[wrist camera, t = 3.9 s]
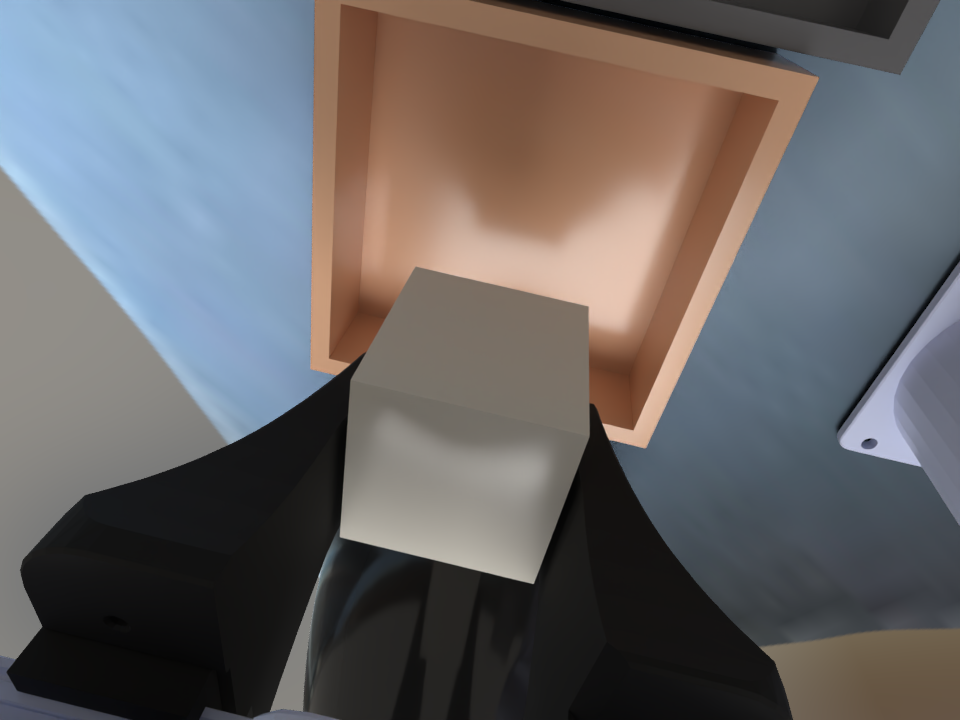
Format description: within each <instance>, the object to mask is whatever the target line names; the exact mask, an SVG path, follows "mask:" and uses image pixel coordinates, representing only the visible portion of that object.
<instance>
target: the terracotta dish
mask: <svg viewBox="0 0 960 720" xmlns="http://www.w3.org/2000/svg"><path fill="white" fill-rule="evenodd" d="M818 79H819V77H818V76H816V75H814V74H812V73H811V72H809V71H807V70H805V69H803V68H802V67H800V66H798V65H796V64H795V63H793V62H791V61H789V60H787V59H786V58H784V57H782V56H780V55H779V54H777V53H772V52H767V51H763V50H758V49H754V48H749V47H745V46H740V45H736V44H731V43H726V42H722V41H717V40H713V39H708V38H704V37H699V36H695V35H690V34H685V33H681V32H676V31H672V30H667V29H663V28H658V27H653V26H649V25H644V24H640V23H635V22H631V21H626V20H622V19H617V18H612V17H608V16H603V15H599V14H594V13H590V12H585V11H581V10H576V9H571V8H567V7H562V6H558V5H553V4H549V3H544V2H540V1H535V0H315V29H314V116H313V203H312V290H311V369H312V370H316V371H321V372H325V373H329V374H333V375H338V374H339V373H340V372H342V371H343V370H344V369H345V368H347V367H348V366H349V365H350V364H351V363H352V362H354V361H355V360H356V359H357V358H358V357H359V356H361V355H362V354H363V353H365V352H367V350H368V349H369V347H370V345H371V343H372V342H373V340H374V338H375V336H376V335H377V333H378V331H379V329H380V328H381V326H382V324H383V322H384V321H385V319H386V317H387V315H388V314H389V312H390V310H391V308H392V307H393V305H394V303H395V301H396V300H397V298H398V296H399V294H400V293H401V291H402V289H403V287H404V285H405V284H406V282H407V280H408V278H409V277H410V275H411V273H412V271H413V270H414V268H415V266H416V267H420V268H424V269H429V270H433V271H437V272H442V273H446V274H450V275H455V276H459V277H463V278H468V279H472V280H476V281H481V282H485V283H489V284H494V285H498V286H502V287H507V288H511V289H515V290H520V291H524V292H528V293H533V294H537V295H541V296H546V297H550V298H554V299H559V300H563V301H567V302H572V303H576V304H580V305H585V306H589V403H592V404H594V405H595V406H596V408H597V410H598V413H599V416H600V418H601V421H602V424H603V426H604V429H605V431H606V434H607V436H608V439H609V440H612V441H616V442H621V443H625V444H629V445H633V446H638V447H642V448H646V447H647V445H648V442H649V440H650V438H651V436H652V434H653V432H654V430H655V428H656V425H657V423H658V421H659V419H660V417H661V415H662V413H663V410H664V408H665V406H666V404H667V402H668V400H669V398H670V395H671V393H672V391H673V389H674V387H675V385H676V383H677V381H678V378H679V376H680V374H681V372H682V370H683V368H684V366H685V363H686V361H687V359H688V357H689V355H690V353H691V351H692V348H693V346H694V344H695V342H696V340H697V338H698V336H699V334H700V331H701V329H702V327H703V325H704V323H705V321H706V319H707V316H708V314H709V312H710V310H711V308H712V306H713V304H714V301H715V299H716V297H717V295H718V293H719V291H720V289H721V287H722V284H723V282H724V280H725V278H726V276H727V274H728V272H729V269H730V267H731V265H732V263H733V261H734V259H735V257H736V255H737V252H738V250H739V248H740V246H741V244H742V242H743V240H744V237H745V235H746V233H747V231H748V229H749V227H750V225H751V222H752V220H753V218H754V216H755V214H756V212H757V210H758V208H759V205H760V203H761V201H762V199H763V197H764V195H765V193H766V190H767V188H768V186H769V184H770V182H771V180H772V178H773V175H774V173H775V171H776V169H777V167H778V165H779V163H780V161H781V158H782V156H783V154H784V152H785V150H786V148H787V146H788V143H789V141H790V139H791V137H792V135H793V133H794V131H795V128H796V126H797V124H798V122H799V120H800V118H801V116H802V114H803V111H804V109H805V107H806V105H807V103H808V101H809V99H810V96H811V94H812V92H813V90H814V88H815V86H816V84H817V81H818Z"/></svg>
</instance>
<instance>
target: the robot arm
mask: <svg viewBox="0 0 960 720" xmlns="http://www.w3.org/2000/svg"><path fill="white" fill-rule="evenodd" d="M365 354H366V352H365V353H363V354H362V355H361V356H359V357H358V358H357V359H356V360H355V361H354V362H352V363H351V364H350V365H349V366H348V367H347V368H345V369H344V370H343V371H342V372H340V373H339V374H338V375H337V376H336V377H334V378H333V379H332V380H331V381H329V382H328V383H327V384H325V385H324V386H323V387H321V388H320V389H319V390H317V391H316V392H315V393H313V394H312V395H311V396H309V397H308V398H307V399H305V400H304V401H302V402H301V403H299V404H298V405H296V406H295V407H293V408H292V409H290V410H289V411H287V412H286V413H284V414H283V415H281V416H280V417H278V418H277V419H275V420H273V421H272V422H270V423H269V424H267V425H265V426H263V427H262V428H260V429H258V430H257V431H255V432H253V433H251V434H249V435H247V436H246V437H244V438H242V439H240V440H238V441H236V442H234V443H232V444H230V445H228V446H225V447H223V448H221V449H219V450H217V451H214V452H212V453H210V454H208V455H206V456H203V457H201V458H199V459H196V460H194V461H191V462H189V463H186V464H184V465H181V466H178V467H176V468H173V469H170V470H167V471H165V472H162V473H159V474H156V475H153V476H151V477H147V478H144V479H141V480H138V481H134V482H131V483H127V484H124V485H120V486H117V487H114V488H110V489H107V490H103V491H99V492H96V493H92V494H88V495H85V496H84V497H83V498H82V499H81V500H80V501H79V502H77V504H75V505H74V506H73V507H72V508H71V509H70V510H69V511H68V512H67V513H66V514H65V515H64V516H63V517H62V518H61V519H60V520H59V521H58V522H57V523H56V524H55V525H54V526H53V528H52V529H51V530H50V531H49V532H48V533H47V534H46V535H45V536H44V537H43V538H42V540H41V541H40V542H39V543H38V544H37V545H36V546H35V547H34V548H33V549H32V550H31V552H30V553H29V554H28V555H27V556H26V557H25V558H24V559H23V561H22V565H21V569H20V571H21V577H22V580H23V584H24V588H25V590H26V592H27V594H28V596H29V598H30V601H31V603H32V605H33V607H34V609H35V611H36V614H37V616H38V618H39V620H40V622H41V624H42V628H41V629H40V631H39V632H38V633H37V634H36V636H35V637H34V638H33V639H32V641H31V642H30V643H29V644H28V646H27V647H26V648H25V649H24V650H23V652H22V653H21V654H20V655H19V657H18V658H17V659H12V658H8V657H4V656H0V720H339V719H335V718H331V717H327V716H322V715H318V714H314V713H310V712H301V711H294V710H286V709H281V710H276V711H272V712H270V710H271V706H272V703H273V701H274V698H275V695H276V692H277V689H278V686H279V682H280V680H281V677H282V674H283V671H284V669H285V666H286V663H287V660H288V657H289V654H290V652H291V649H292V646H293V643H294V640H295V637H296V635H297V632H298V629H299V626H300V624H301V621H302V618H303V616H304V613H305V610H306V607H307V605H308V602H309V599H310V596H311V594H312V591H313V588H314V586H315V583H316V581H317V578H318V575H319V573H320V570H321V568H322V565H323V562H324V560H325V557H326V555H327V552H328V550H329V548H330V546H331V544H332V541H333V539H334V537H335V535H336V533H337V531H338V529H339V527H340V525H341V512H342V497H343V483H344V468H345V454H346V439H347V425H348V411H349V396H350V382H351V378H352V377H353V375H354V373H355V371H356V370H357V368H358V366H359V364H360V363H361V361H362V359H363V357H364V356H365ZM589 426H590V437H589V439H588V442H587V445H586V447H585V450H584V452H583V455H582V458H581V460H580V463H579V466H578V468H577V471H576V474H575V476H574V479H573V482H572V484H571V487H570V490H569V492H568V495H567V497H566V500H565V503H564V505H563V508H562V511H561V513H560V516H559V519H558V521H557V524H556V527H555V529H554V532H553V534H552V537H551V540H550V542H549V545H548V548H547V550H546V553H545V556H544V558H543V561H542V564H541V566H540V569H539V596H538V610H537V618H536V627H535V635H534V644H533V652H532V660H531V668H530V675H529V683H528V691H527V698H526V705H525V712H524V720H793V718H792V715H791V711H790V707H789V702H788V699H787V696H786V693H785V689H784V686H783V684H782V681H781V678H780V676H779V673H778V670H777V668H776V664H775V662H774V661H773V660H772V659H771V658H770V657H769V656H768V655H766V653H765V652H764V651H762V650H761V649H760V648H759V647H758V646H757V645H756V644H755V643H754V642H753V641H752V640H751V639H750V638H749V637H748V636H747V635H746V634H744V633H743V632H742V631H741V630H740V629H739V628H738V627H737V626H736V625H735V624H734V623H733V622H732V621H731V620H730V619H729V618H728V617H727V616H726V615H725V614H724V613H723V611H722V610H721V609H720V608H719V607H718V606H717V605H716V604H715V603H714V602H713V601H712V600H711V599H710V598H709V597H708V595H707V594H706V593H705V592H704V591H703V590H702V589H701V587H700V586H699V585H698V584H697V583H696V582H695V580H694V579H693V578H692V577H691V575H690V574H689V573H688V572H687V570H686V569H685V568H684V567H683V565H682V564H681V563H680V562H679V561H678V559H677V558H676V557H675V555H674V554H673V553H672V551H671V550H670V549H669V547H668V546H667V545H666V543H665V542H664V540H663V539H662V537H661V536H660V534H659V533H658V531H657V530H656V528H655V527H654V525H653V524H652V522H651V521H650V519H649V517H648V516H647V514H646V512H645V511H644V509H643V507H642V506H641V504H640V502H639V500H638V499H637V497H636V495H635V493H634V491H633V490H632V488H631V486H630V484H629V482H628V480H627V478H626V476H625V474H624V472H623V470H622V468H621V466H620V463H619V461H618V459H617V457H616V455H615V453H614V451H613V448H612V446H611V444H610V441H609V439H608V436H607V434H606V431H605V429H604V426H603V424H602V421H601V418H600V416H599V413H598V410H597V408H596V406H595V405H594V404H592V403H589ZM869 438H872V439H871V440H870V441H867V442H863V441H864V440H866V439H869ZM837 439H838V441H839V443H840V445H841V446H842V447H843V448H845V449H848V450H852V451H856V452H860V453H864V454H869V455H873V456H877V457H881V458H886V459H890V460H894V461H898V462H903V463H907V464H911V465H915V466H920V467H922V468H923V469H924V471H925V472H926V474H927V476H928V477H929V479H930V480H931V482H932V483H933V485H934V486H935V488H936V490H937V491H938V493H939V494H940V496H941V497H942V499H943V501H944V502H945V504H946V505H947V507H948V508H949V510H950V512H951V513H952V515H953V516H954V518H955V519H956V521H957V522H958V524H959V526H960V262H959V263H958V264H957V266H956V267H955V269H954V270H953V271H952V273H951V274H950V276H949V277H948V278H947V280H946V281H945V283H944V284H943V285H942V287H941V288H940V290H939V291H938V292H937V294H936V295H935V297H934V298H933V299H932V301H931V302H930V304H929V305H928V306H927V308H926V309H925V311H924V312H923V313H922V315H921V316H920V318H919V319H918V320H917V322H916V323H915V325H914V326H913V327H912V329H911V330H910V332H909V333H908V334H907V336H906V337H905V339H904V340H903V342H902V343H901V344H900V346H899V347H898V349H897V350H896V351H895V353H894V354H893V356H892V357H891V358H890V360H889V361H888V363H887V364H886V365H885V367H884V368H883V370H882V371H881V372H880V374H879V375H878V377H877V378H876V379H875V381H874V382H873V384H872V385H871V386H870V388H869V389H868V391H867V392H866V393H865V395H864V396H863V398H862V399H861V400H860V402H859V403H858V405H857V406H856V407H855V409H854V410H853V412H852V413H851V414H850V416H849V417H848V419H847V420H846V421H845V423H844V424H843V426H842V427H841V428H840V430H839V431H838V434H837Z"/></svg>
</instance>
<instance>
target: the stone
mask: <svg viewBox="0 0 960 720" xmlns="http://www.w3.org/2000/svg"><path fill="white" fill-rule="evenodd" d="M589 437H590V426H589V306H585V305H580V304H576V303H572V302H567V301H563V300H559V299H554V298H550V297H546V296H541V295H537V294H533V293H528V292H524V291H520V290H515V289H511V288H507V287H502V286H498V285H494V284H489V283H485V282H481V281H476V280H472V279H468V278H463V277H459V276H455V275H450V274H446V273H442V272H437V271H433V270H429V269H424V268H420V267H416V266H415V268H414V270H413V271H412V273H411V275H410V277H409V278H408V280H407V282H406V284H405V285H404V287H403V289H402V291H401V293H400V294H399V296H398V298H397V300H396V301H395V303H394V305H393V307H392V308H391V310H390V312H389V314H388V315H387V317H386V319H385V321H384V322H383V324H382V326H381V328H380V329H379V331H378V333H377V335H376V336H375V338H374V340H373V342H372V343H371V345H370V347H369V349H368V350H367V352H366V354H365V356H364V357H363V359H362V361H361V363H360V364H359V366H358V368H357V370H356V371H355V373H354V375H353V377H352V378H351V382H350V396H349V411H348V425H347V439H346V454H345V468H344V483H343V497H342V512H341V526H340V537H341V538H345V539H350V540H354V541H358V542H362V543H366V544H370V545H374V546H378V547H383V548H387V549H391V550H395V551H399V552H403V553H407V554H411V555H416V556H420V557H424V558H428V559H432V560H436V561H440V562H445V563H449V564H453V565H457V566H461V567H465V568H469V569H473V570H478V571H482V572H486V573H490V574H494V575H498V576H502V577H507V578H511V579H515V580H519V581H523V582H527V583H531V584H534V582H535V579H536V577H537V574H538V571H539V569H540V566H541V564H542V561H543V558H544V556H545V553H546V550H547V548H548V545H549V542H550V540H551V537H552V534H553V532H554V529H555V527H556V524H557V521H558V519H559V516H560V513H561V511H562V508H563V505H564V503H565V500H566V497H567V495H568V492H569V490H570V487H571V484H572V482H573V479H574V476H575V474H576V471H577V468H578V466H579V463H580V460H581V458H582V455H583V452H584V450H585V447H586V445H587V442H588V439H589Z"/></svg>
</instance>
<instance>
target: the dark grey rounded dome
mask: <svg viewBox="0 0 960 720" xmlns="http://www.w3.org/2000/svg"><path fill="white" fill-rule="evenodd" d="M340 526H341V525H340ZM538 596H539V571H538V574H537V577H536V579H535V582H534V584H531V583H527V582H523V581H519V580H515V579H511V578H507V577H502V576H498V575H494V574H490V573H486V572H482V571H478V570H473V569H469V568H465V567H461V566H457V565H453V564H449V563H445V562H440V561H436V560H432V559H428V558H424V557H420V556H416V555H411V554H407V553H403V552H399V551H395V550H391V549H387V548H383V547H378V546H374V545H370V544H366V543H362V542H358V541H354V540H350V539H345V538H341V537H340V527H339V529H338V531H337V533H336V535H335V537H334V539H333V541H332V544H331V546H330V548H329V550H328V552H327V555H326V557H325V560H324V563H323V567H322V571H321V575H320V579H319V584H318V588H317V593H316V598H315V603H314V608H313V614H312V621H311V628H310V634H309V642H308V650H307V660H306V671H305V682H304V699H303V712H310V713H314V714H318V715H322V716H327V717H331V718H335V719H339V720H524V712H525V705H526V698H527V691H528V683H529V675H530V668H531V660H532V652H533V644H534V635H535V627H536V618H537V610H538Z"/></svg>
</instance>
